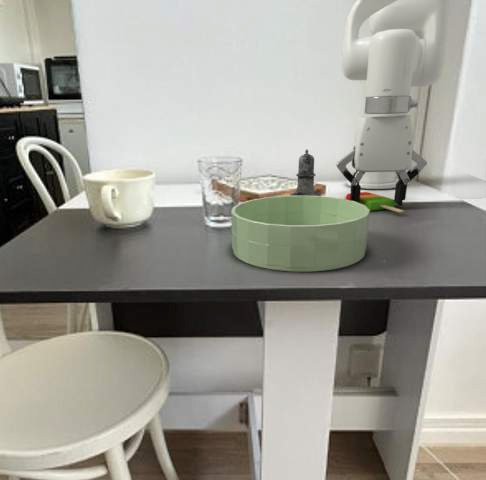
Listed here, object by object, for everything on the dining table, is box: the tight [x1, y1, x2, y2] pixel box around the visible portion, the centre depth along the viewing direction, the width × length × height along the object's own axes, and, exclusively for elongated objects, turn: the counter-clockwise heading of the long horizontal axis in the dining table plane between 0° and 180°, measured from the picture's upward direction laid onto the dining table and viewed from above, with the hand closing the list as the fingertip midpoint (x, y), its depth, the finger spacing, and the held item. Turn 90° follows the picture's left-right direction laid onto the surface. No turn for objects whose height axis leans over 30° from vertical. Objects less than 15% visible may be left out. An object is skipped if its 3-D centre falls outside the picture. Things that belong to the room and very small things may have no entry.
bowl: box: [230, 195, 371, 273], centre depth 63 cm, size 19×19×6 cm
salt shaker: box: [288, 149, 322, 196], centre depth 82 cm, size 6×6×12 cm
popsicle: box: [345, 191, 405, 214], centre depth 86 cm, size 6×15×2 cm, turn 16°
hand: (376, 203), depth 86 cm, fingers open, 7 cm apart
